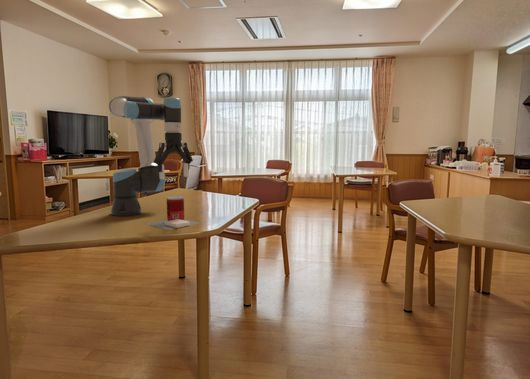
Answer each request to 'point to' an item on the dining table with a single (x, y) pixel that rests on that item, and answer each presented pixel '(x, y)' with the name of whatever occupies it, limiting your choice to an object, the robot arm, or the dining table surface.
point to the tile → (177, 223)
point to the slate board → (162, 225)
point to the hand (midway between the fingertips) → (174, 178)
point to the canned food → (175, 208)
